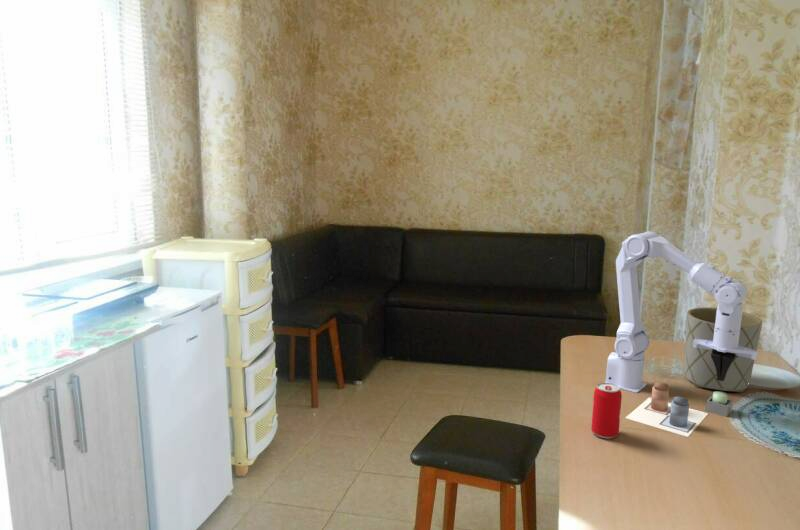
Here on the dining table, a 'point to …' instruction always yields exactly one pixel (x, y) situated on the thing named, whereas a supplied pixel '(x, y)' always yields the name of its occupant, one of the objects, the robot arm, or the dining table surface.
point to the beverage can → (606, 410)
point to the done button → (720, 398)
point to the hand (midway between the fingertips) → (721, 379)
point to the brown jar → (660, 397)
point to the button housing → (718, 407)
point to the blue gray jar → (679, 412)
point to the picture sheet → (665, 418)
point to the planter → (700, 360)
